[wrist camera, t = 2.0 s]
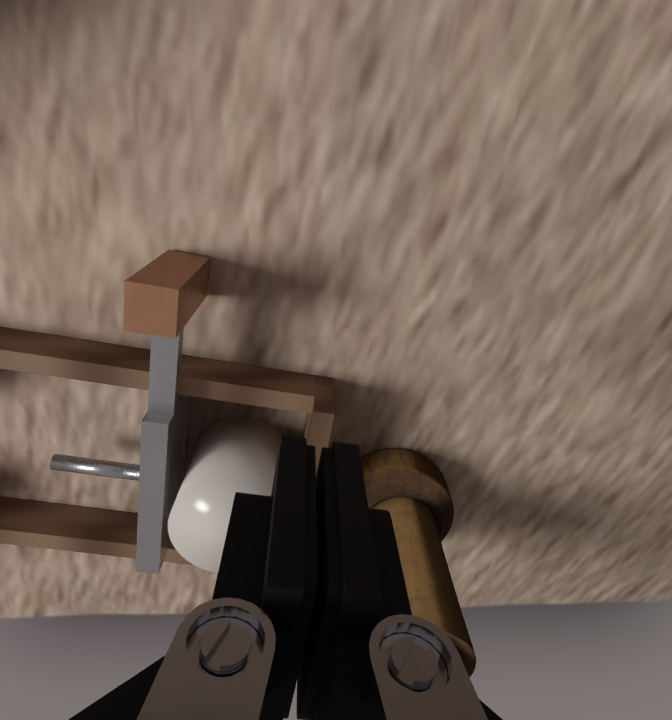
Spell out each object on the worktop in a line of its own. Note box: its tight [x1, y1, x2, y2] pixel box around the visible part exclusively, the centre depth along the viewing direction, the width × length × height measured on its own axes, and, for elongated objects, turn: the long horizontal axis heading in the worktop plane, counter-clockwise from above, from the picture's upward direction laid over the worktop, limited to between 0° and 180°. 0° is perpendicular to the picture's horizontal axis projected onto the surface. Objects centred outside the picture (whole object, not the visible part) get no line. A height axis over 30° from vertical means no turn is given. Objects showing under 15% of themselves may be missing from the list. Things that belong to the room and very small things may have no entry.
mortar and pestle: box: [361, 449, 476, 678], centre depth 22 cm, size 7×6×18 cm
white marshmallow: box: [168, 417, 281, 573], centre depth 27 cm, size 6×6×6 cm
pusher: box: [50, 250, 210, 574], centre depth 24 cm, size 7×16×6 cm, turn 170°
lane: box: [0, 327, 335, 565], centre depth 26 cm, size 22×12×5 cm, turn 80°
